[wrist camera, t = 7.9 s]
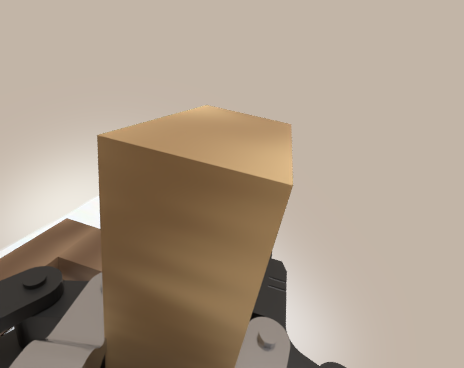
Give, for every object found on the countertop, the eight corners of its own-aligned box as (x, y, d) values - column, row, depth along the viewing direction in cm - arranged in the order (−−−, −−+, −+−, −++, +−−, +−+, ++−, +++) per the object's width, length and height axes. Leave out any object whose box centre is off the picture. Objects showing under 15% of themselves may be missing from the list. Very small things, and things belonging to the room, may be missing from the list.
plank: (218, 380, 15) (291, 124, 8) (180, 536, 10) (293, 185, 3) (170, 362, 15) (206, 104, 9) (110, 503, 10) (97, 135, 4)
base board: (166, 274, 25) (169, 251, 24) (-7, 541, 10) (-22, 515, 9) (68, 242, 26) (66, 218, 25) (-207, 439, 12) (-243, 405, 10)
